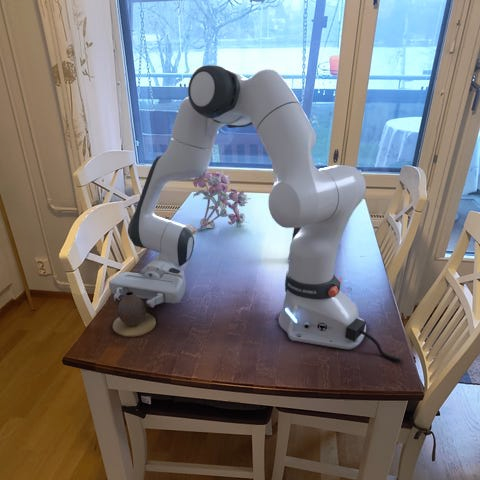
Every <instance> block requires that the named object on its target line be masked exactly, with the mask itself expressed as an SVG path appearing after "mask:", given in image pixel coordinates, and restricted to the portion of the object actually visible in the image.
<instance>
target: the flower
mask: <svg viewBox="0 0 480 480" xmlns="http://www.w3.org/2000/svg"><path fill="white" fill-rule="evenodd" d="M206 181H207V182H206ZM192 184H193V187H195V188H198V187H199V188H202V189H198V190H197V191H196V192H195V193H193V197H192V198H193V199H194V198H195V197H196V196H200V195H201V194H202V195H203V196H204V197H202V199H201V200H202V201H203V200H207V204H206V209H205V214H204V217H203V218H201V220H200V222H199V228H198V229H197V231H198V232H200V231H202V230H204V229H214V226H215V224H216V222H215V220H217V219H218V218H220V217H221V218H225V217H227V218H228V219H229V220H230V221H227V224H228V225H231V226H232V225H234V224H236V225H237V226H239V227H241V226H242V225H243V224H245V223H246V224H247V223H248V222H247V221H245V219H246V216H245V214H244V213H243V212H240V209H239V208H238V205H239V207H245V206H246V204H248V203H249V202H248V200H251V199H252V198H251V197H250V198H249V197H248V194H245V193H246V192H247V191H246V190H241V191H239V192H238V190H237V189H236V188H235V187H231V188H230V189H229V187H228V185H230V184H231V180H230V175H229V174H227V175H226V174H225V173H224V170H221V171H219V172H218V171H215V172H210V171H208V169H207V170H206V171H205V172H204V173H203V174H201V175H200V176H198V177H196V178H194V180H193V182H192ZM203 188H206V190H204V189H203ZM228 190H229V191H230V193H229V194H228V193H227V192H228ZM214 196H217V200H216V198H215V197H214ZM230 200H231V201H232V202H233V203H231V202H230ZM211 201H212V204H213V205H210V203H211ZM227 207H228V208H229V209H231V210H232V211H233V213H228V211H227ZM218 208H220V210H219V209H218ZM209 210H212V211H211V212H210V213H209ZM208 213H209V215H208ZM214 213H216V216H215V217H214V218H212V219H211V217H213V214H214Z"/></svg>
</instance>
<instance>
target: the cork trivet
mask: <svg viewBox="0 0 480 480" xmlns="http://www.w3.org/2000/svg"><path fill="white" fill-rule="evenodd" d="M156 324H157V321H156V318H155V316H153V315H152V314H150V313H148V312H146V316H145V319H144V321H143V322H142V323H141V324H140V325H138V326H134V327H130V326H127V325H125V324H124V323H123V322H122V321H121V319H120V317H119V316H118V317H117V318H116V319H115V320H114V321H113V322H112V330H113V332H114V333H115V334H117V335H119V336H120V337H121V336H122V337H128V338H129V337H140V336H143V335H145V334H148V333H149V332H151V331H152V330H154V328H155V326H156Z"/></svg>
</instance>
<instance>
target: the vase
mask: <svg viewBox="0 0 480 480" xmlns="http://www.w3.org/2000/svg"><path fill="white" fill-rule="evenodd" d="M117 313H118V317H120V319H121V321H122V322H123V323H124V324H125V325H127V326H130V327H134V326H138V325H140V324H141V323H142V322H143V321H144V319H145V316H146V313H147V308H146V305H145V303H144V301H143V300H142V298H139V297H138V296H136V295H135V293H134V292H132V291H128V292H126V293H125V294H124V295H123V296H122V300H121V301H120V302H118V306H117Z"/></svg>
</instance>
